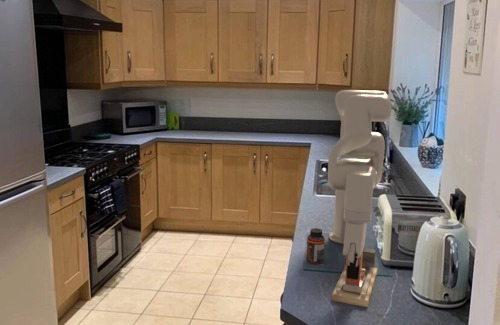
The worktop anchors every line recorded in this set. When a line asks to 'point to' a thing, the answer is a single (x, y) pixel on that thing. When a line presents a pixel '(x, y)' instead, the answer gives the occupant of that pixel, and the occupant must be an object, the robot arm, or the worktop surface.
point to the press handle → (354, 284)
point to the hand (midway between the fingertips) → (353, 275)
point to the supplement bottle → (315, 246)
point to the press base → (369, 281)
